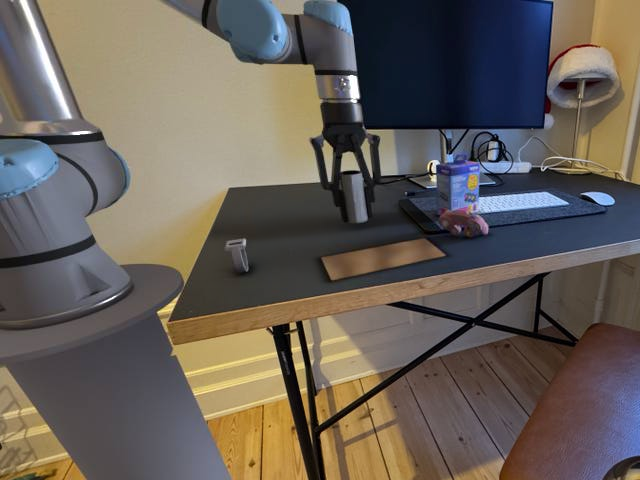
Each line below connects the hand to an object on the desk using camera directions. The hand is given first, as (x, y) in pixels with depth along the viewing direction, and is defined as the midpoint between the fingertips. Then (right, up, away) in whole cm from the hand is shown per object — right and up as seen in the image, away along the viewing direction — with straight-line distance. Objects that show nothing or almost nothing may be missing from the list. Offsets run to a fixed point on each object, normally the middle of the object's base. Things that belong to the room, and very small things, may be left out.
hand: (357, 218), depth 80 cm
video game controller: (+23, -4, -3) cm, 24 cm away
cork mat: (+9, -9, -13) cm, 19 cm away
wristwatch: (-13, -11, -19) cm, 25 cm away
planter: (0, 0, 0) cm, 0 cm away
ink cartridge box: (+22, +3, +11) cm, 24 cm away
